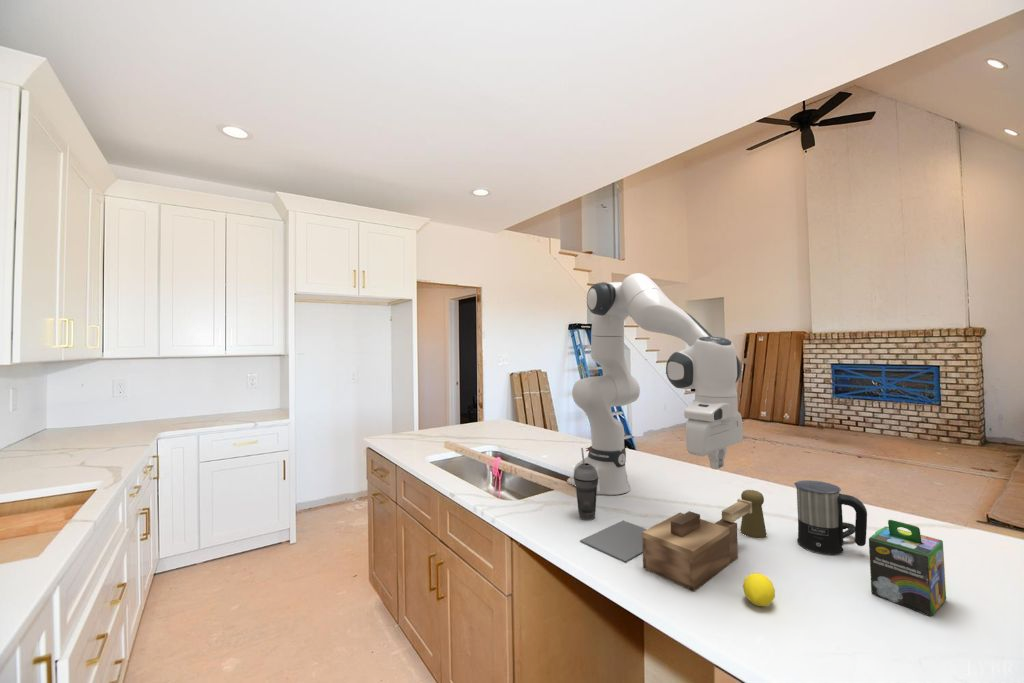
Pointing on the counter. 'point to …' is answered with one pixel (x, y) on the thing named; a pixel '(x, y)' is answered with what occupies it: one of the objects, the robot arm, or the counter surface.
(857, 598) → the counter surface
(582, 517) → the beverage cup
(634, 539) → the mat
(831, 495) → the milk frother
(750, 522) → the olive chess pawn
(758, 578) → the lemon
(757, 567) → the counter surface
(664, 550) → the brown wooden box
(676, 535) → the lid
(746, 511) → the light wooden bar
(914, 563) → the chalk box
